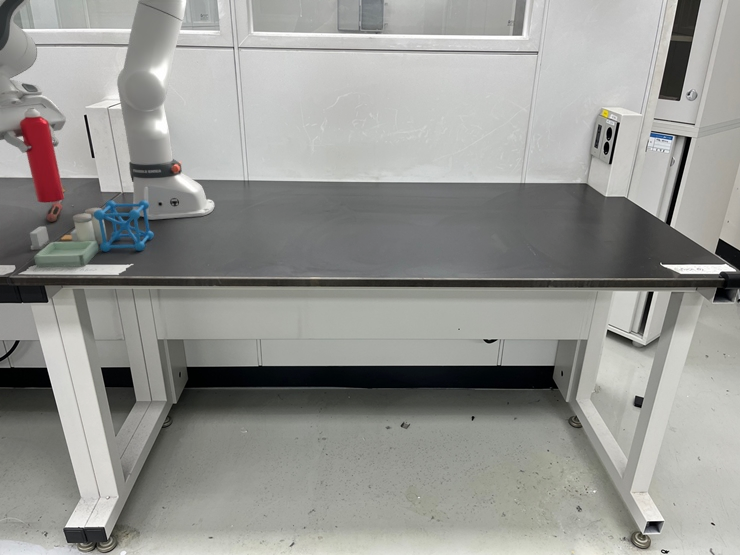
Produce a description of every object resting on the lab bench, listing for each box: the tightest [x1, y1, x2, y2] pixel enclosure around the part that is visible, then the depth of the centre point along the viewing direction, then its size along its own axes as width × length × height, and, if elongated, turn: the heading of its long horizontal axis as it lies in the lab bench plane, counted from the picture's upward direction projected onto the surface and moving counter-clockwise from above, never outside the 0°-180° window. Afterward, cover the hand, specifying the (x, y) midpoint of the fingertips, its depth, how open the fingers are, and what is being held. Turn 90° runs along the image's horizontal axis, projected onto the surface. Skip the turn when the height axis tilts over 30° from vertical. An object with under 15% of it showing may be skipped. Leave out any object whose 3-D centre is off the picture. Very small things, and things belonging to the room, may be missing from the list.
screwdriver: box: [46, 200, 63, 223], centre depth 157 cm, size 25×3×3 cm, turn 20°
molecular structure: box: [94, 200, 154, 252], centre depth 131 cm, size 10×10×10 cm
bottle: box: [20, 108, 65, 203], centre depth 123 cm, size 6×5×20 cm
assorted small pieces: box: [29, 207, 108, 268], centre depth 128 cm, size 16×20×8 cm
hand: (41, 147), depth 122 cm, fingers closed on bottle, 5 cm apart
